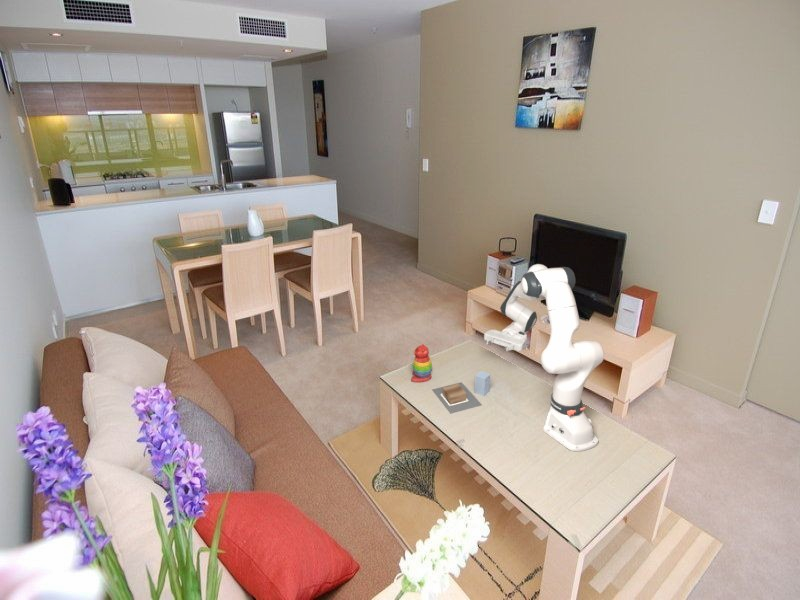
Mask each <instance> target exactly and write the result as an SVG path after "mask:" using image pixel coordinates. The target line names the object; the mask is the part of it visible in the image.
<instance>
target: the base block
mask: <svg viewBox="0 0 800 600" xmlns="http://www.w3.org/2000/svg"><path fill="white" fill-rule="evenodd" d="M455 384H456V383H455ZM451 385H452V384H451ZM447 386H448V385H447ZM443 387H444V386H443ZM443 396H444V397H445V398H446V400H447V401H448V402H449V403H450V404H454V403H458V402H462V401H466V392H465V391H464V390H463V389H462V388H461V386H460V385H459V384H456V385H452V386H448V387H444V388H443Z"/></svg>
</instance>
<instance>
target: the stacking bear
mask: <svg viewBox="0 0 800 600" xmlns="http://www.w3.org/2000/svg"><path fill="white" fill-rule="evenodd" d="M429 353H430V349H429V348H428V347H427V346H426V345H425V344H423V343H422V344H421V345H418V346H416V348H415V349H414V350H413V355H414V359H413V362H412V369H413V371H412V376H411V379H410V382H412V383H414V384H415V383H416V384H417V383H419V384H420V383H427V382H429V381H430V380H431V379H433V378H432V370H433V364H432V359H431V357H430V356H429Z"/></svg>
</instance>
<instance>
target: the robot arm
mask: <svg viewBox="0 0 800 600" xmlns="http://www.w3.org/2000/svg"><path fill="white" fill-rule="evenodd" d="M575 285H576V276H575V273H574V271H573V270H572V269H571V268H570V267H568V266H567V267H566V266H559V267H550V268H548V267H547V266H546V265H544V264H542V263H536V264H533V265H531V266H530V267H529V268H528V270H527V271H526V272H525V273H524V274H523V275H522V277H521V279H520V280H518V281H517V282H516V283H515V284H514V285H513V286H512V288H511V289H510V291H509V292H508V294H507V296H506V298H505V299H504V300H503V301H502V303H501V305H500V313H501V314H502V315H504V316H505V317H507V318H509V319H511V320H512V322H511V323H510V324H509V325H507V326H505V328H504V329H502V331H501V330H497V329H494V328H493V329H492V328H491V329H489V330H487V331H486V332H484V333H483V339H484V341H486V345H487V346H491V345H492V343H493V344H495V345H499V346H501V347H504V351H505V352H509V351H517V352H523V351H524V350H525V348H526V347H527V341H528V335H527V334H528V333H529V331H530V330H532V329H533V328H534V326H535V325H536V323H537V320H538V314H537V311H535V310H534V309H532V308H531V307H529V306H527V305H526V304H524V303H523V302H521V301H519V300H518V299H517V298H522V299H524V300H526V301H529V302H530V301H531V302H534V301H538V300H540V299H542V298H543V297H544V299H545V304H546V310H547V315H548V319H549V327H550V337H549V341H548V343H547V345H546V347H545V348H544V350H543V351H542V352H541V355H540V363H541V366H542V368H543V370H544V371H546V372H547V373H548V374H554V375H555V374H557V376H556V377H555V379H554V380H553V381H554V382H553V388H552V393H551V394H550V395H551V396H550V407H549V410H548V413H547V417H546V418H545V421H544V426H543V428H542V431H543V432H544V433H545V434H547V435H548V436H550V437H551V439H554V440H555V441H557V442H558V443H560V444H561V445H562V446H564V448H566V449H568V450H569V451H571V452H583V451H587V450H590V449H592V448H594V447H596V446H598V444H599V439H598V438H597V436H596V435H595V434H594V429H593V428H594V427H593V426H592V420H591V419H590V418H588V417H587V416H586V413H585V412H584V411H586V407H585V406H583V401H582V395H583V390H584V387H585V385H586V382H587V380H588V378H589V377H590V376H591V374H592V372H593V371H594V370H595V368H597V367H598V366H600V364H602V362H603V361H604V358H605V352H604V349H603V347H602V345H601V344H600V343H599V342H597V341H595V340H579V341H575V342H574V341H573V336H574V334H575V332H576V331H578V330H579V329H580V326H581V321H580V316H579V311H578V307H577V303H576V298H575V295H574V293H573V291H572V290H573V289H574V288H575Z"/></svg>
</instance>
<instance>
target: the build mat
mask: <svg viewBox="0 0 800 600" xmlns="http://www.w3.org/2000/svg"><path fill="white" fill-rule="evenodd" d="M456 384H459V385H460V386H461V388H462V389H463V390H464V391H465V392H466V401H462V402H458V403H454V404H450V403H449V402H448V401H447V400H446V398H445V397H444V396H443V388H444V387H448V386H452V385H456ZM431 391H432V392H433V393H434V395H435V396H436V397H437V399H438V400H439V401H440V402H441V404H442V405H443V406H444V408H445V409H446V410H447V411H448V413H449V414H451V415H452V414H455V413H459V412H463V411H466V410H470V409H473V408H474V409H475V408H477V407H482V406H483V404H482V403H481V402H480V401H479V400H478V399H477V397H476V396H474V394H473V393H472V392H471V391H470V390H469V388H468V387H467V386H466V385H465V384H464V383H463V381H461V382H457V383H453V384H448V385H444V386H441V387H440V386H439V387H437V388H432V389H431Z"/></svg>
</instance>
